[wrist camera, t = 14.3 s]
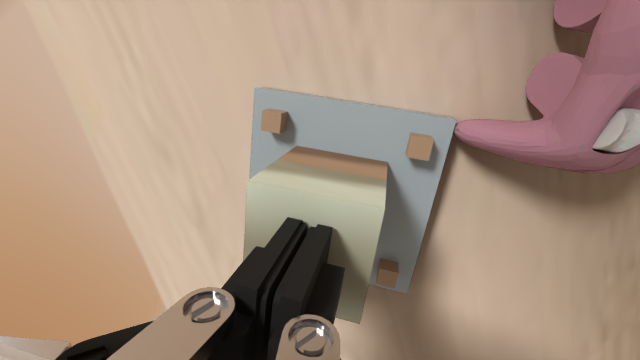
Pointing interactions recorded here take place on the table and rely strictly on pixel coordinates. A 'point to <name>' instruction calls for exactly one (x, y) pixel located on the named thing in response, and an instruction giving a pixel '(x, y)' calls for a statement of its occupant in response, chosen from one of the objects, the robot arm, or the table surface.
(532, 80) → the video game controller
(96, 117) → the table surface
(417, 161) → the board
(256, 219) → the block stack
